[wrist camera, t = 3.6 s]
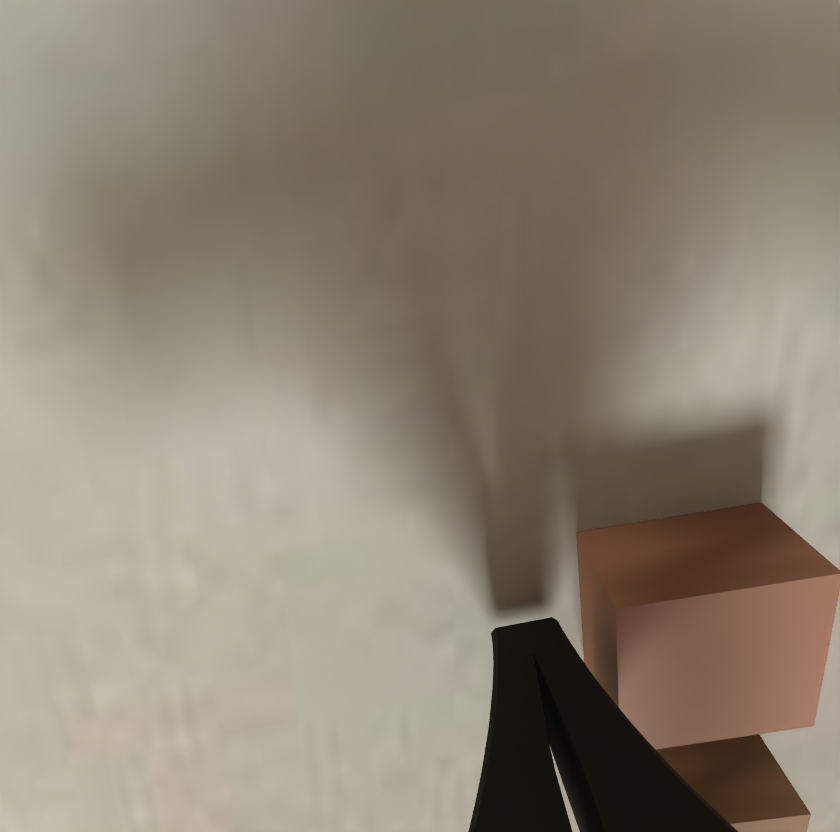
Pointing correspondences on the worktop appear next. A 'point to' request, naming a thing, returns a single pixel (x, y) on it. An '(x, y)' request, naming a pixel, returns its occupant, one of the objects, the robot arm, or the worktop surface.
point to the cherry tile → (707, 623)
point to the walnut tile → (741, 783)
